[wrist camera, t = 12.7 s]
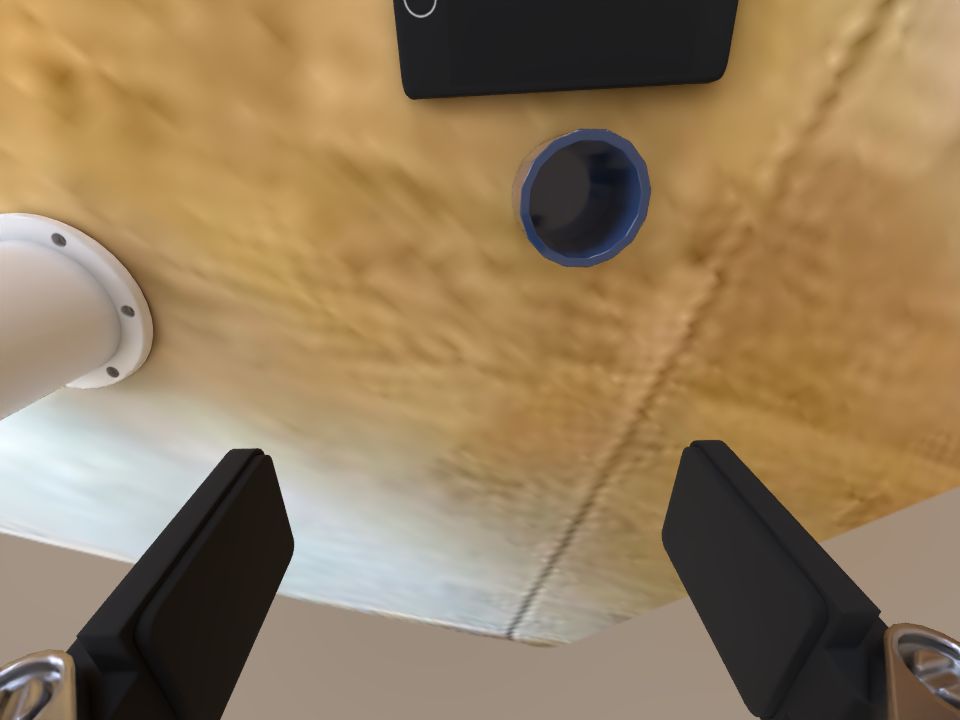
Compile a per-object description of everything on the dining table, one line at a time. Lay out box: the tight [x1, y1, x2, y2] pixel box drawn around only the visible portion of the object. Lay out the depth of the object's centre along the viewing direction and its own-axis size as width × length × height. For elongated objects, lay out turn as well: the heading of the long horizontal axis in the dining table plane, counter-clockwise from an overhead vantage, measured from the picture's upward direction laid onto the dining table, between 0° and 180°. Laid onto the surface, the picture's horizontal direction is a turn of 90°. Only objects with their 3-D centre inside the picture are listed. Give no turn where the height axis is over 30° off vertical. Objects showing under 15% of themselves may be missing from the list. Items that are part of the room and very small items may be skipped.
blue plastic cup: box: [512, 129, 651, 267], centre depth 24 cm, size 7×7×6 cm
